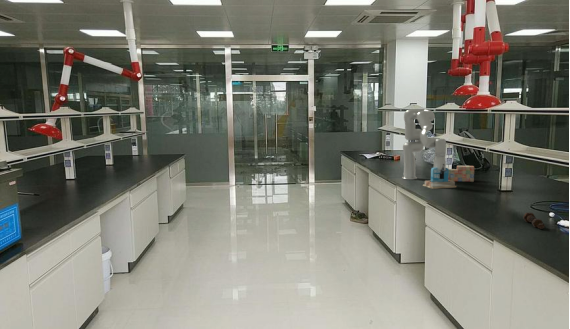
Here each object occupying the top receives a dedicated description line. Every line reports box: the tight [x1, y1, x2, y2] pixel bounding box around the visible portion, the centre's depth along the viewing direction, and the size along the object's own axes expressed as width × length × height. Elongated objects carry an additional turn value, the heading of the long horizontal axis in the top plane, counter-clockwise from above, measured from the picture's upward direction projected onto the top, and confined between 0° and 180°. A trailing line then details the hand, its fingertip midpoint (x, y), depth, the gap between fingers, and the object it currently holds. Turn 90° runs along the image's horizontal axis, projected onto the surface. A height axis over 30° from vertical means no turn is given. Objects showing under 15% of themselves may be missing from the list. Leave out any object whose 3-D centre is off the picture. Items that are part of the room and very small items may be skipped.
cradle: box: [422, 179, 457, 190], centre depth 316 cm, size 14×20×4 cm
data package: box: [430, 167, 450, 183], centre depth 315 cm, size 12×4×12 cm, turn 89°
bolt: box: [522, 212, 546, 230], centre depth 208 cm, size 6×5×15 cm
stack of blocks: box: [448, 165, 475, 183], centre depth 337 cm, size 21×6×12 cm, turn 76°
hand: (439, 178), depth 316 cm, fingers closed on data package, 5 cm apart
